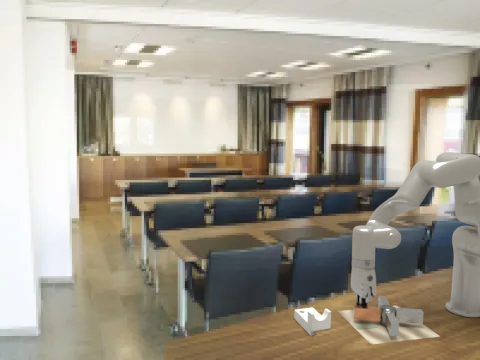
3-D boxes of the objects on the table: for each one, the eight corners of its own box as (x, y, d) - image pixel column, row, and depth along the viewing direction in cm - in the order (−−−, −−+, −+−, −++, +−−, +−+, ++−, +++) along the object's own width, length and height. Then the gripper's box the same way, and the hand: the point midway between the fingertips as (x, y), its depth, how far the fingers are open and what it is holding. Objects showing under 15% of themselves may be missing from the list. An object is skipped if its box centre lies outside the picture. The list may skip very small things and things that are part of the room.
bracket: (330, 333, 141) (331, 311, 140) (310, 336, 139) (311, 314, 138) (312, 316, 153) (313, 296, 152) (294, 319, 151) (294, 298, 150)
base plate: (397, 309, 159) (397, 304, 159) (440, 340, 136) (440, 335, 135) (337, 315, 154) (337, 310, 154) (371, 348, 131) (371, 343, 130)
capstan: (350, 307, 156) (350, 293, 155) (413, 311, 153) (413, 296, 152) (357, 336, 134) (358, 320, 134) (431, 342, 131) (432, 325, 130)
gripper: (385, 268, 139) (382, 322, 141) (362, 255, 153) (361, 303, 156) (363, 270, 137) (362, 324, 140) (343, 256, 152) (341, 305, 154)
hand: (361, 313), depth 148 cm, fingers closed
